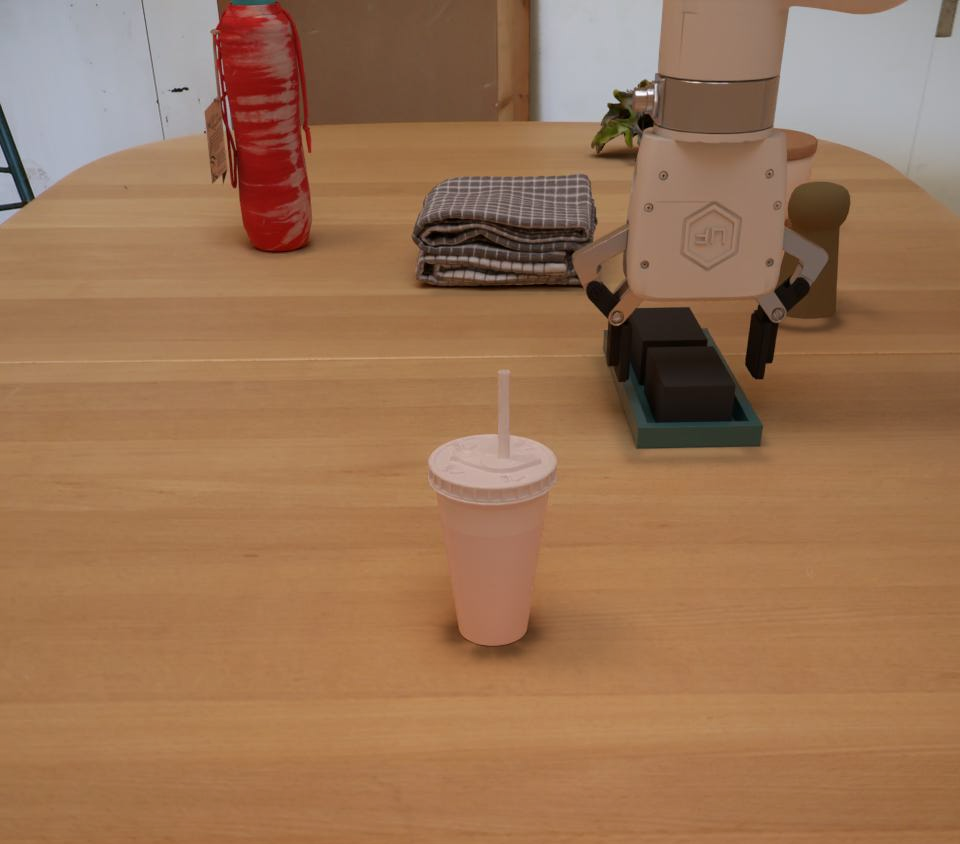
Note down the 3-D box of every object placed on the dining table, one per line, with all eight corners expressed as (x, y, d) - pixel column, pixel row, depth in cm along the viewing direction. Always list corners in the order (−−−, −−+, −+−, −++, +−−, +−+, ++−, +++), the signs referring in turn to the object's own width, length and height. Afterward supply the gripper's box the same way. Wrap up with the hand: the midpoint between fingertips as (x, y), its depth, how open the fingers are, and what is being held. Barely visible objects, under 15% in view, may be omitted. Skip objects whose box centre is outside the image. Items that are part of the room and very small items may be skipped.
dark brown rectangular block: (625, 350, 93) (628, 307, 91) (685, 349, 94) (689, 306, 91) (638, 385, 87) (642, 340, 85) (703, 384, 87) (708, 339, 85)
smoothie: (544, 665, 58) (552, 400, 49) (422, 654, 58) (409, 392, 50) (559, 601, 63) (568, 351, 54) (446, 592, 63) (438, 344, 55)
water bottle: (202, 253, 121) (160, -25, 106) (227, 234, 127) (191, -31, 112) (310, 257, 119) (282, -25, 104) (330, 237, 126) (307, -31, 110)
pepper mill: (776, 301, 106) (795, 173, 99) (841, 309, 104) (865, 179, 97) (760, 319, 101) (778, 187, 95) (827, 328, 99) (851, 194, 93)
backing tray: (602, 354, 94) (603, 329, 93) (704, 353, 95) (707, 327, 93) (635, 456, 78) (638, 427, 77) (759, 453, 78) (763, 425, 77)
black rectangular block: (643, 392, 86) (647, 346, 84) (708, 391, 86) (713, 345, 84) (659, 434, 80) (663, 386, 77) (729, 433, 80) (736, 384, 77)
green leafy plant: (643, 191, 166) (697, 116, 161) (640, 193, 156) (698, 113, 151) (583, 140, 164) (636, 63, 159) (577, 139, 155) (633, 57, 149)
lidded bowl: (732, 245, 121) (746, 132, 115) (670, 219, 131) (680, 113, 124) (827, 232, 125) (846, 122, 119) (760, 208, 135) (774, 104, 128)
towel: (427, 249, 121) (424, 169, 117) (597, 250, 120) (601, 170, 116) (412, 290, 109) (408, 204, 105) (601, 292, 108) (606, 205, 104)
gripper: (583, 120, 68) (572, 396, 78) (869, 115, 68) (820, 391, 78) (572, 99, 74) (563, 358, 84) (834, 95, 74) (793, 354, 84)
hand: (687, 374), depth 81 cm, fingers open, 9 cm apart
